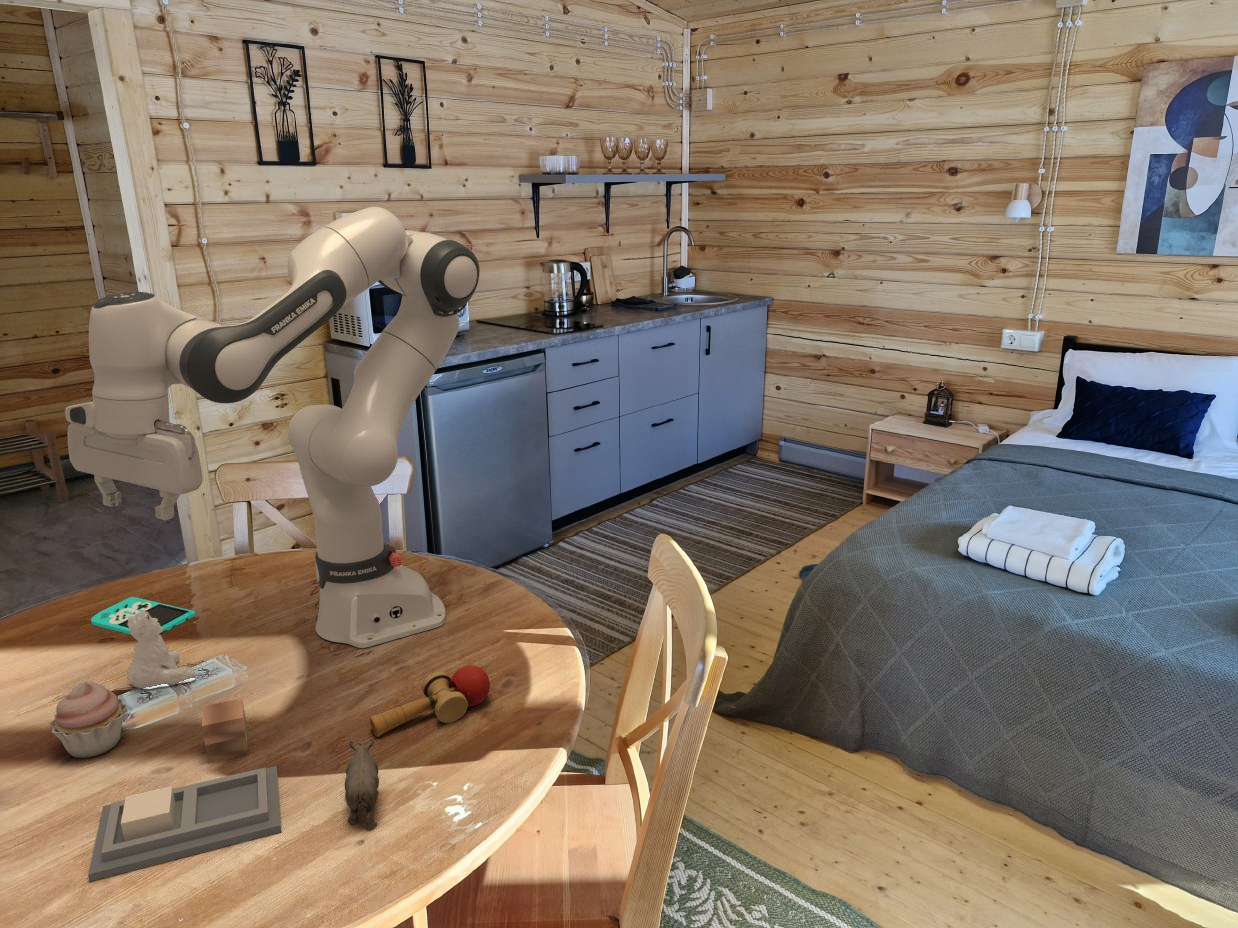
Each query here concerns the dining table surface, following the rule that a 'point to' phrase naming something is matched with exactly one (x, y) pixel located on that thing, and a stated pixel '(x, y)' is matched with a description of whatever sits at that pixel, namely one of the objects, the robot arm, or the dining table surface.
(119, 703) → the cupcake
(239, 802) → the base plate
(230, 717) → the brown block
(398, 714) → the kendama
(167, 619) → the handheld game console
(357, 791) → the rhino figurine
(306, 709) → the dining table surface
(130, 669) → the sitting furry creature
